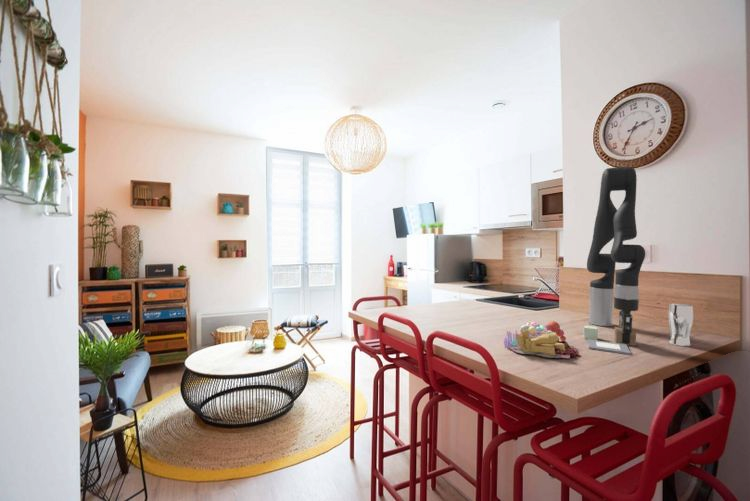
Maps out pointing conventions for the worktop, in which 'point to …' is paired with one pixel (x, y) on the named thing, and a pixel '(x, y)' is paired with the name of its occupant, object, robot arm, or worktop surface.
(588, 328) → the sage cube
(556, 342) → the candy landscape model
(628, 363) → the worktop surface
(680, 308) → the beer glass
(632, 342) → the walnut block
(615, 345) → the pad
